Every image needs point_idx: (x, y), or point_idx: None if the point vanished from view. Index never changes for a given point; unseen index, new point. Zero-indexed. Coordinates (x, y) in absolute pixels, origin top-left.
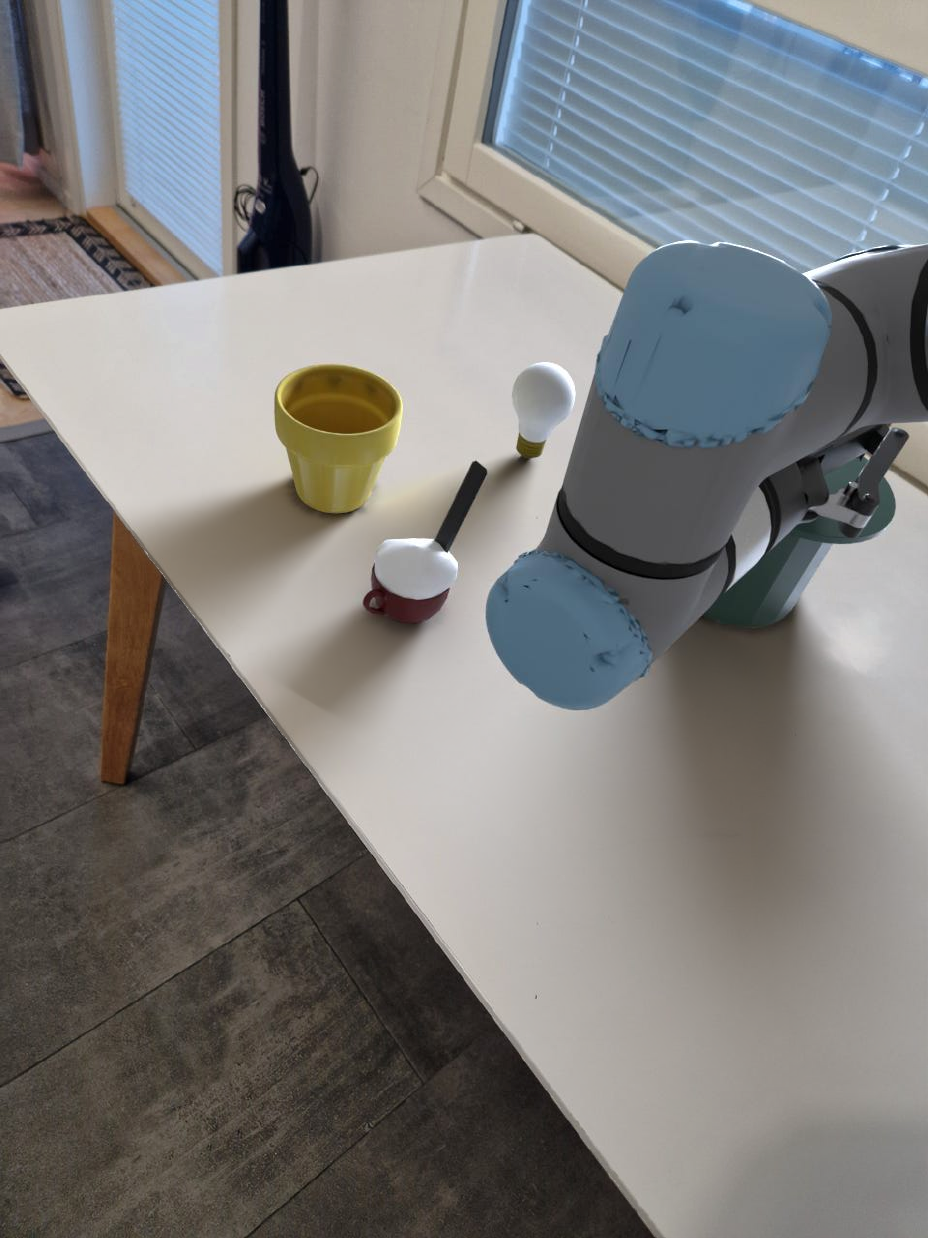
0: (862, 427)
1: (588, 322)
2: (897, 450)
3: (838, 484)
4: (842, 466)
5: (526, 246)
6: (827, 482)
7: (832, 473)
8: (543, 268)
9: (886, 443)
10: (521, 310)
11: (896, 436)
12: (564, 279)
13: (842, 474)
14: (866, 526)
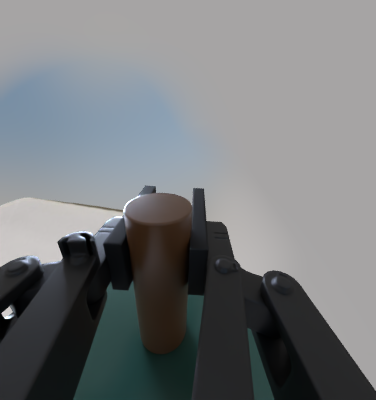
0: (233, 334)
1: (49, 221)
2: (351, 367)
3: (201, 312)
4: None
5: (19, 202)
6: (192, 319)
7: (189, 299)
8: (26, 208)
9: (315, 360)
10: (8, 231)
11: (291, 302)
12: (38, 208)
13: None
14: None
